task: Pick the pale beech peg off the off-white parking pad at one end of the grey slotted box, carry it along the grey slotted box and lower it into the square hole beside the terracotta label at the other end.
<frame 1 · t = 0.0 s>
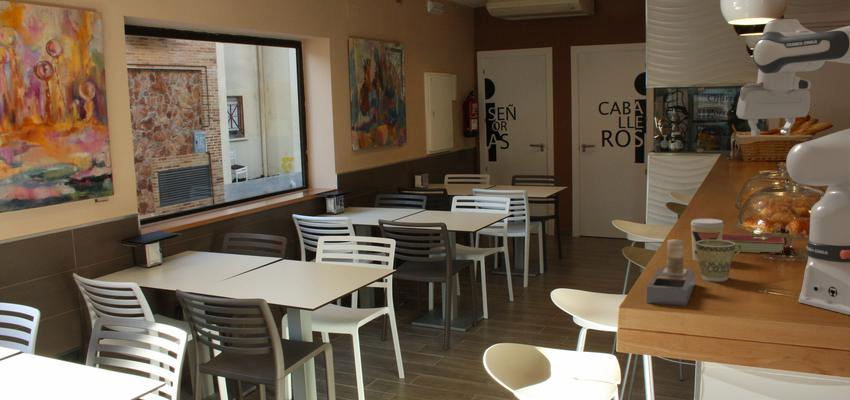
hand: (770, 135, 203), 39 cm above the table, tool pointing down, fingers open, 8 cm apart
ceramic cup: (719, 279, 210), on the table
grey slotted box: (671, 293, 196), on the table
hardcover book: (747, 250, 247), on the table
coffee cup: (706, 260, 233), on the table
peg: (675, 270, 201), point 4 cm above the table, touching grey slotted box
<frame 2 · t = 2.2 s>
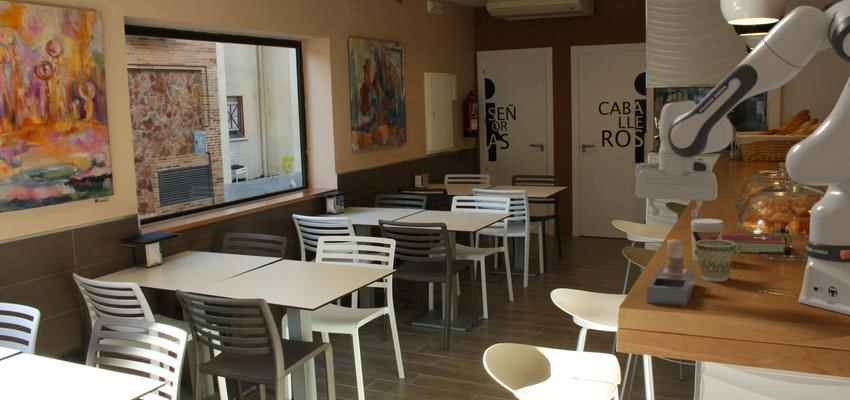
hand: (675, 216, 200), 19 cm above the table, tool pointing down, fingers open, 8 cm apart
nothing on the table moved.
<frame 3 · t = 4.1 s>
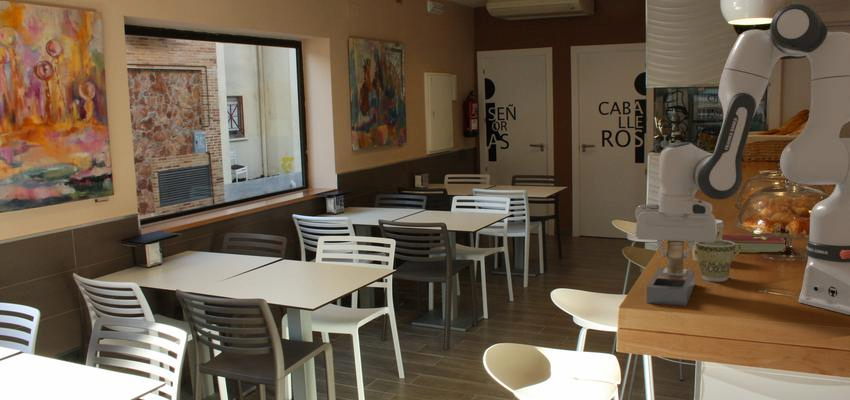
hand: (675, 257, 201), 8 cm above the table, tool pointing down, fingers closed on peg, 4 cm apart
peg: (675, 270, 201), point 4 cm above the table, touching gripper, grey slotted box
everything else where it was.
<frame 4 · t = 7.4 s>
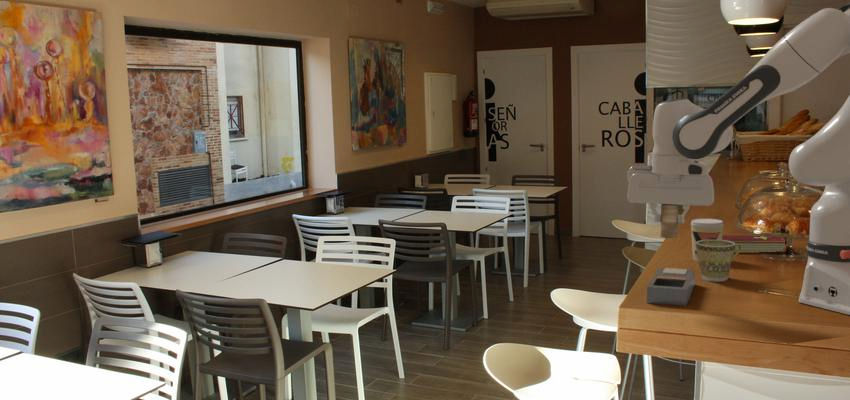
hand: (669, 222, 188), 19 cm above the table, tool pointing down, fingers closed on peg, 4 cm apart
peg: (669, 236, 189), point 16 cm above the table, touching gripper
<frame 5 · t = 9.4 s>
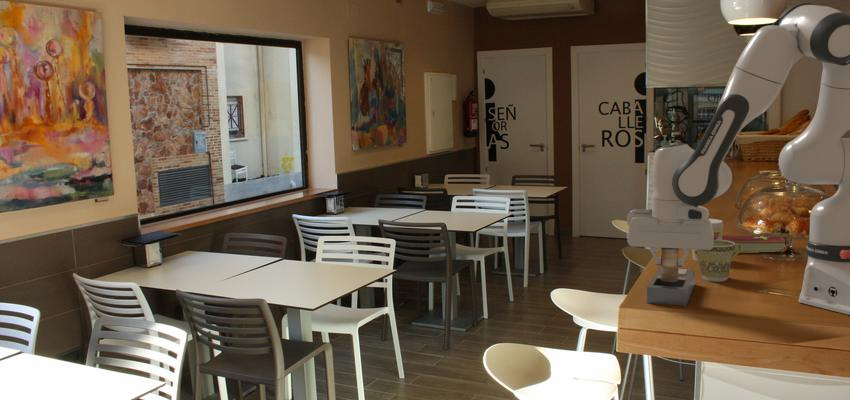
hand: (669, 265, 189), 9 cm above the table, tool pointing down, fingers closed on peg, 4 cm apart
peg: (669, 280, 190), point 5 cm above the table, touching gripper
when the fingers open (6 cm above the table, at t = 10.9 s): peg drops 2 cm, resting in grey slotted box.
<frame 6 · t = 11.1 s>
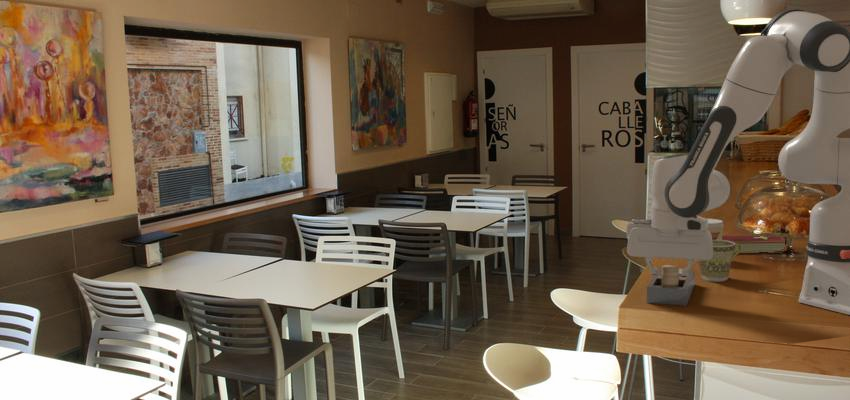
hand: (669, 275, 190), 6 cm above the table, tool pointing down, fingers open, 6 cm apart
peg: (669, 298, 191), resting in grey slotted box
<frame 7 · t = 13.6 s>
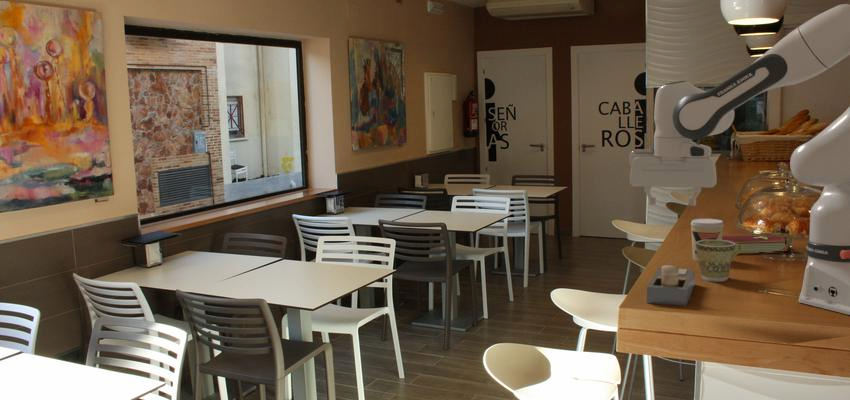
hand: (672, 205, 188), 23 cm above the table, tool pointing down, fingers open, 8 cm apart
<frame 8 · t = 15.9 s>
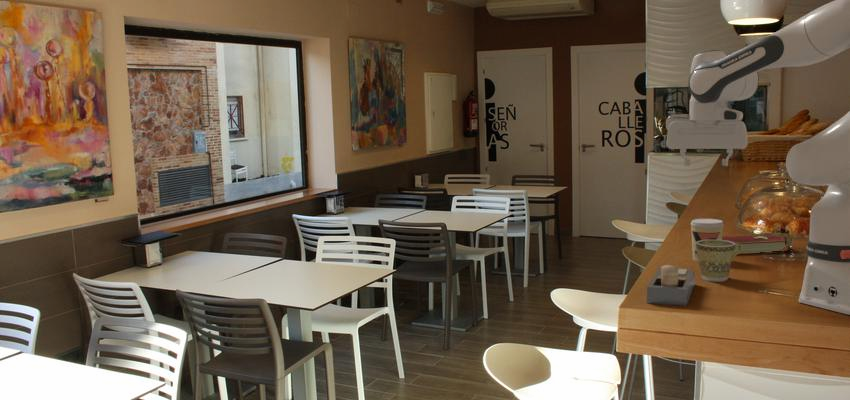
hand: (705, 165, 204), 31 cm above the table, tool pointing down, fingers open, 8 cm apart
at the end: peg 0.2 cm from the target spot on the grey slotted box, point 0.0 cm above the grey slotted box's base; peg tilted 1°; the gripper is holding nothing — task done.
